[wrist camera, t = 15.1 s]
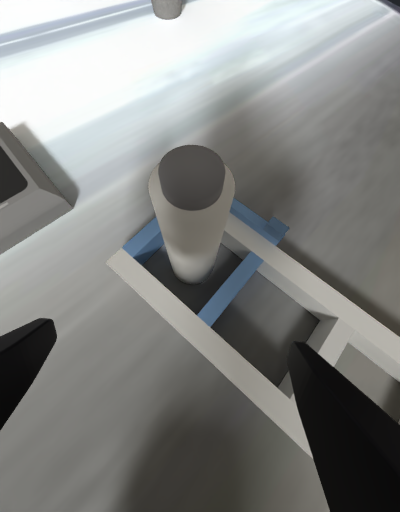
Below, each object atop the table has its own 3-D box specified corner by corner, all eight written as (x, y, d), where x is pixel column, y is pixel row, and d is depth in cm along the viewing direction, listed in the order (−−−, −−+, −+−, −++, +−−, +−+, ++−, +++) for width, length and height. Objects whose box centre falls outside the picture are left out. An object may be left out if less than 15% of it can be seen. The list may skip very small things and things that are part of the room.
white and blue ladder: (688, 812, 12) (1007, 1117, 8) (116, 271, 23) (95, 253, 18) (690, 562, 16) (904, 659, 11) (197, 195, 26) (198, 163, 22)
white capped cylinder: (221, 270, 23) (258, 184, 10) (184, 292, 22) (173, 227, 9) (199, 238, 24) (207, 123, 11) (164, 257, 24) (128, 156, 10)
